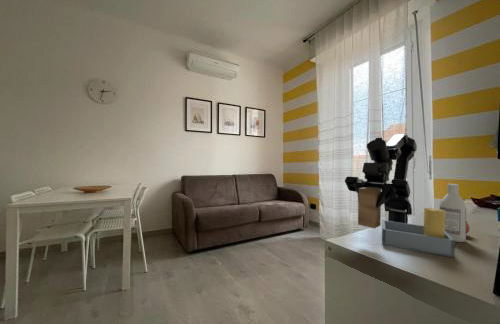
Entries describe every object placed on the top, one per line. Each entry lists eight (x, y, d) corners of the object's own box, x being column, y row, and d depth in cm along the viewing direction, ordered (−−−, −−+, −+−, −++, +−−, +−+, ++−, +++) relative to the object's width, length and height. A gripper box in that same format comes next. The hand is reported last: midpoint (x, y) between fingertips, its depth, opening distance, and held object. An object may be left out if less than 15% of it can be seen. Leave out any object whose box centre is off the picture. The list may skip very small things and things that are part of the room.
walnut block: (364, 221, 72) (364, 187, 72) (380, 225, 68) (380, 188, 68) (357, 224, 68) (358, 188, 68) (374, 228, 65) (375, 190, 64)
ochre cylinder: (435, 251, 63) (435, 211, 63) (419, 244, 68) (420, 208, 68) (449, 250, 64) (449, 211, 64) (432, 244, 68) (433, 208, 68)
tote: (382, 244, 69) (382, 229, 69) (381, 232, 81) (382, 220, 81) (454, 257, 60) (454, 240, 60) (442, 242, 72) (442, 228, 72)
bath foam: (450, 235, 79) (451, 183, 79) (471, 242, 72) (472, 185, 72) (433, 235, 79) (435, 183, 78) (453, 242, 72) (454, 185, 72)
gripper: (347, 154, 78) (331, 186, 71) (408, 153, 63) (396, 193, 56) (356, 175, 83) (342, 206, 76) (414, 178, 68) (404, 217, 61)
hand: (367, 205), depth 67 cm, fingers closed on walnut block, 5 cm apart
